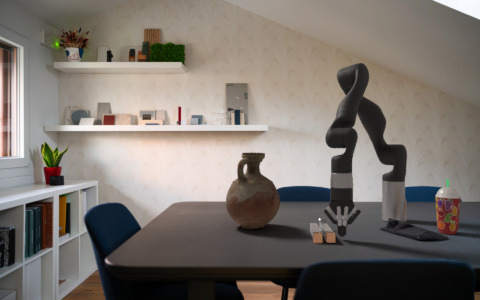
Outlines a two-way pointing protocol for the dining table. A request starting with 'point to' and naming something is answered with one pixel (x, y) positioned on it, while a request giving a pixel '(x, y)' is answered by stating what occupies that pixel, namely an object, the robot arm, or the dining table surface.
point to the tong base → (316, 231)
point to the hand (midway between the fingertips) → (341, 236)
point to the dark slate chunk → (411, 231)
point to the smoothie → (447, 209)
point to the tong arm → (327, 232)
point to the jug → (252, 194)
